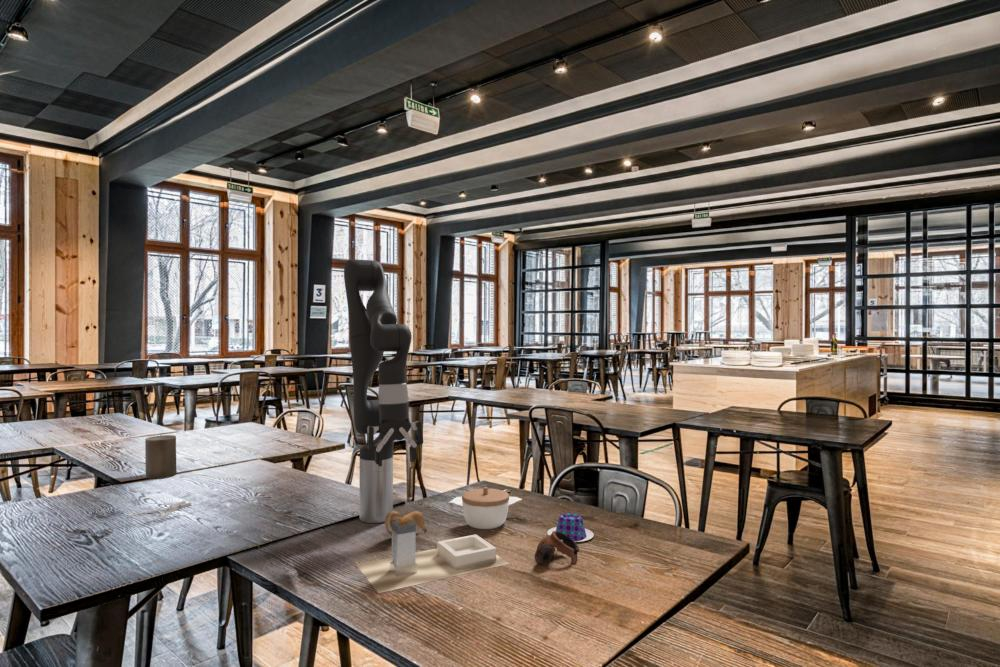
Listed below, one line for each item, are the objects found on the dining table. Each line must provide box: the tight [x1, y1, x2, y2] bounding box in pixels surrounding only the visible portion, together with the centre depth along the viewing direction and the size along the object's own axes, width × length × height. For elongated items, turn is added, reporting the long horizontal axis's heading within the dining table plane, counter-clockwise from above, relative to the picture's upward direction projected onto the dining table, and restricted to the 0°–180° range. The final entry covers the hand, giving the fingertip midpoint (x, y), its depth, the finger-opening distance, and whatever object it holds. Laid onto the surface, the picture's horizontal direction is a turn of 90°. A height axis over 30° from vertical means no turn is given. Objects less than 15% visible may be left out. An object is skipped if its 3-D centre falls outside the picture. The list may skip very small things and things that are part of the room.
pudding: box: [546, 513, 595, 543], centre depth 154 cm, size 12×12×5 cm
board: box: [355, 548, 510, 594], centre depth 131 cm, size 16×30×2 cm, turn 119°
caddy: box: [436, 534, 497, 570], centre depth 135 cm, size 10×10×3 cm
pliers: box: [127, 500, 192, 523], centre depth 171 cm, size 10×2×15 cm
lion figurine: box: [384, 510, 428, 537], centre depth 149 cm, size 15×5×9 cm, turn 151°
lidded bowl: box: [461, 486, 510, 530], centre depth 159 cm, size 13×13×11 cm
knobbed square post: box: [390, 517, 417, 577], centre depth 127 cm, size 4×5×11 cm
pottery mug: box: [534, 531, 580, 566], centre depth 134 cm, size 12×10×8 cm
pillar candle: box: [144, 433, 178, 480], centre depth 212 cm, size 10×10×15 cm
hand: (396, 463), depth 153 cm, fingers open, 8 cm apart
